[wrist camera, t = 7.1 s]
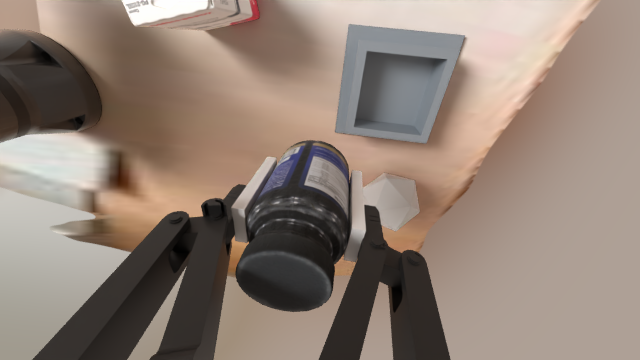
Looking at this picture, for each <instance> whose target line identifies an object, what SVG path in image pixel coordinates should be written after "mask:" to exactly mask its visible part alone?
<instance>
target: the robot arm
mask: <svg viewBox="0 0 640 360" xmlns="http://www.w3.org/2000/svg"><path fill="white" fill-rule="evenodd" d="M100 115H101V102H100V98H99V95H98V92H97V90H96V87H95V85H94V83H93V82H92V80H91V78H90V77H89V75H88V74H87V72H86V71H85V70H84V68H83V67H82V66H81V65H80V63H79V62H78V61H77V60H76V59H75V58H74V57H73V56H72V55H71V54H70V53H69V52H68V51H66V50H65V49H64V48H63V47H62V46H60V45H59V44H57V43H56V42H54V41H53V40H51V39H50V38H48V37H46V36H44V35H42V34H39V33H36V32H33V31H29V30H11V29H4V30H0V143H1V142H4V141H7V140H11V139H14V138H17V137H21V136H24V135H29V134H54V133H73V132H78V131H81V130H84V129H87V128H90V127H92V126H94V125H95V124H96V123H97V122H98V120H99V118H100ZM276 166H277V158H275V157H269V156H267V158H266V159H265V161H264V162H263V163H262V165H261V166H260V168H259V169H258V171H257V172H256V173H255V175H254V176H253V178H252V179H251V180H250V182H249V183H248V185H247V186H246V185H240V184H239V185H237V186H235V187H233V188H232V190H231V191H230V192H229V193H228V195H227V196H226V197H225V198H224V200H222V199H219V198H214V199H209V200H207V201H205V202H204V203H203V204H202V205H201V208H202V212H203V217H191V218H189V215H188V214H187V213H186V212H183V211H177V212H173V213H170V214H168V215H167V216H165V217H164V218H163V219H162V220H161V221H160V222H159V224H158V225H157V226H156V227H155V228H154V229H153V230H152V231H151V232H150V233H149V234H148V235H147V236H146V238H145V239H144V240H143V241H142V242H141V243H140V244H139V245H138V246H137V247H136V248H135V249H134V251H133V252H132V253H131V254H130V255H129V256H128V257H127V258H126V259H125V260H124V261H123V263H121V265H120V266H119V267H118V268H117V269H116V270H115V271H114V272H113V273H112V274H111V276H109V278H108V279H107V280H106V281H105V282H104V283H103V284H102V285H101V286H100V287H99V288H98V290H96V292H95V293H94V294H93V295H92V296H91V297H90V298H89V299H88V300H87V301H86V303H84V305H83V306H82V307H81V308H80V309H79V310H78V311H77V312H76V313H75V314H74V315H73V316H72V317H71V319H70V320H69V321H68V322H67V323H66V324H65V325H64V326H63V327H62V328H61V329H60V330H59V332H58V333H57V334H56V335H55V336H54V337H53V338H52V339H51V340H50V341H49V343H48V344H46V346H45V347H44V348H43V349H42V350H41V351H40V352H39V353H38V354H37V355H36V356H35V358H33V360H127V359H128V357H129V356H130V354H131V352H132V351H133V349H134V348H135V346H136V345H137V343H138V342H139V340H140V338H141V337H142V335H143V334H144V332H145V331H146V329H147V327H148V326H149V324H150V323H151V321H152V320H153V318H154V316H155V315H156V313H157V312H158V310H159V308H160V307H161V305H162V304H163V302H164V300H165V299H166V297H167V296H168V294H169V293H170V291H171V290H172V288H173V286H174V285H175V283H176V282H177V280H178V278H179V277H180V275H181V274H182V272H183V271H184V269H185V267H186V266H187V268H186V270H185V273H184V276H183V279H182V283H181V285H180V288H179V291H178V294H177V298H176V300H175V303H174V306H173V309H172V312H171V315H170V319H169V321H168V324H167V327H166V330H165V333H164V336H163V339H162V342H161V345H160V348H159V350H158V352H157V353H156V354H155V355H153V356H152V357H151V358H150V360H213V359H214V353H215V346H216V340H217V334H218V328H219V322H220V316H221V310H222V303H223V297H224V291H225V285H226V279H227V272H228V266H229V260H230V254H231V248H232V242H231V240H232V238H233V237H234V235H235V241H239V242H245V243H247V242H248V238H247V233H246V223H247V218H248V215H249V212H250V211H251V209H252V207H253V205H254V204H255V202H256V200H257V198H258V197H259V195H260V194H261V192H262V190H263V188H264V187H265V185H266V183H267V181H268V180H269V178H270V176H271V174H272V173H273V171H274V169H275V168H276ZM357 257H358V260H357ZM344 260H347V261H353V262H356V260H357V262H356V265H355V267H354V270H353V273H352V275H351V278H350V280H349V283H348V285H347V288H346V291H345V293H344V296H343V298H342V301H341V304H340V306H339V309H338V311H337V314H336V316H335V319H334V322H333V324H332V327H331V329H330V332H329V334H328V337H327V340H326V342H325V345H324V347H323V350H322V353H321V355H320V358H319V360H359V359H360V355H361V351H362V347H363V343H364V339H365V335H366V331H367V327H368V324H369V320H370V316H371V312H372V308H373V304H374V300H375V296H376V293H377V289H378V285H379V281H380V282H382V283H384V284H386V285H388V288H389V303H390V315H391V316H390V317H391V331H392V344H393V345H392V346H393V359H394V360H450V356H449V352H448V348H447V344H446V340H445V336H444V332H443V328H442V324H441V320H440V316H439V312H438V308H437V304H436V300H435V295H434V292H433V288H432V284H431V279H430V275H429V272H428V267H427V263H426V261H425V259H424V258H423V256H422V255H420V254H419V253H418V252H415V251H413V250H406V251H404V252H403V253H400V252H398V251H396V250H394V249H392V248H390V247H389V246H388V244H387V242H386V241H385V240H384V238H383V233H382V226H381V220H380V214H379V211H378V209H377V208H376V206H370V205H364V197H363V184H362V171H356V170H352V173H351V177H350V182H349V240H348V244H347V248H346V250H345V252H344Z"/></svg>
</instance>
